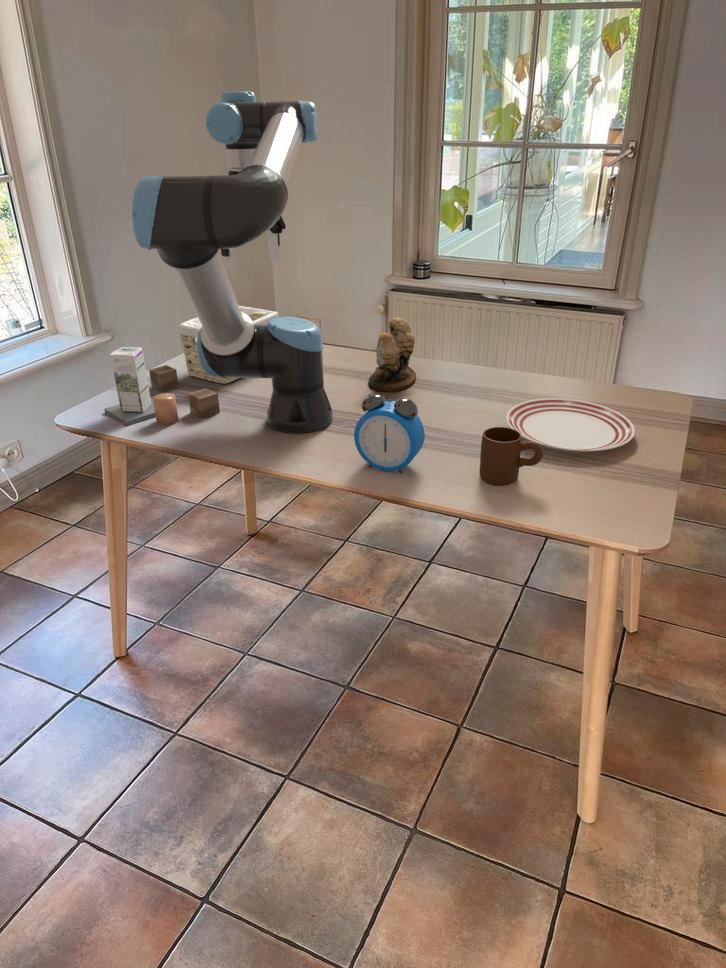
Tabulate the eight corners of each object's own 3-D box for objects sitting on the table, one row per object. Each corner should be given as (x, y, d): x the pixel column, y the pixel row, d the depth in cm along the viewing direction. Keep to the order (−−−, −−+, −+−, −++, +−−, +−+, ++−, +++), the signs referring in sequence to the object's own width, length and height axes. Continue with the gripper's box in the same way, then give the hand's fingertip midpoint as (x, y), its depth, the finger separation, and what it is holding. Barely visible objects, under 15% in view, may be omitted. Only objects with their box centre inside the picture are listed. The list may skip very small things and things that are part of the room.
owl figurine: (381, 368, 201) (381, 306, 192) (422, 372, 197) (425, 309, 189) (361, 390, 185) (360, 324, 177) (405, 395, 182) (407, 328, 174)
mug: (545, 479, 142) (550, 435, 137) (532, 496, 136) (538, 450, 132) (487, 466, 147) (490, 423, 143) (473, 481, 141) (475, 437, 137)
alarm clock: (353, 466, 148) (352, 397, 141) (365, 454, 153) (364, 387, 146) (414, 478, 143) (416, 407, 136) (424, 464, 148) (426, 396, 141)
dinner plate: (645, 424, 165) (648, 410, 163) (615, 473, 144) (618, 458, 142) (528, 402, 177) (530, 389, 176) (485, 444, 157) (486, 430, 155)
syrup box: (152, 404, 177) (142, 346, 170) (143, 413, 171) (133, 354, 164) (129, 403, 177) (119, 345, 170) (120, 412, 172) (109, 353, 165)
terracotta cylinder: (182, 421, 170) (179, 397, 167) (163, 427, 167) (159, 403, 164) (171, 415, 173) (168, 391, 170) (152, 421, 170) (148, 397, 167)
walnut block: (220, 412, 174) (217, 393, 172) (202, 419, 171) (199, 399, 169) (208, 407, 177) (205, 388, 175) (190, 413, 174) (187, 393, 172)
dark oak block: (178, 387, 189) (176, 369, 187) (161, 392, 186) (159, 374, 184) (168, 383, 192) (166, 365, 190) (151, 388, 189) (148, 369, 187)
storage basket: (241, 353, 214) (236, 303, 207) (284, 362, 206) (281, 310, 199) (182, 377, 196) (174, 323, 189) (227, 388, 188) (220, 333, 181)
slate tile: (169, 412, 175) (168, 408, 174) (127, 425, 168) (126, 421, 167) (146, 400, 182) (145, 396, 181) (105, 412, 175) (104, 408, 174)
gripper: (275, 164, 174) (281, 255, 184) (188, 172, 158) (200, 272, 168) (296, 165, 169) (301, 259, 179) (209, 174, 153) (220, 276, 163)
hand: (252, 265), depth 173 cm, fingers open, 13 cm apart
